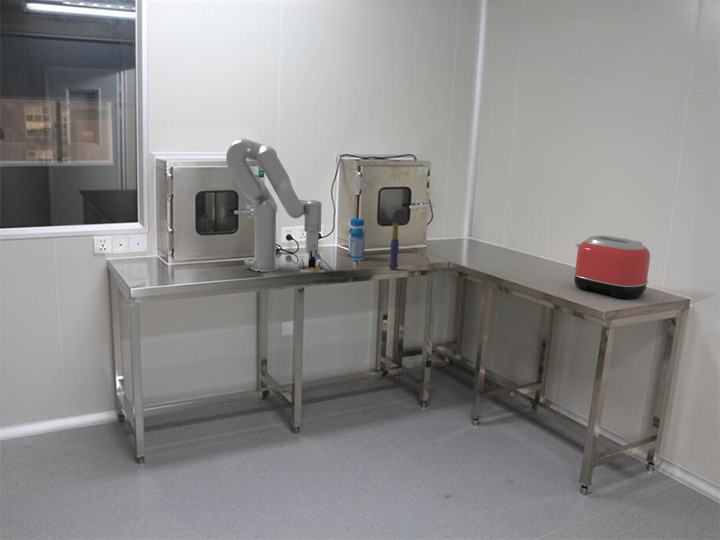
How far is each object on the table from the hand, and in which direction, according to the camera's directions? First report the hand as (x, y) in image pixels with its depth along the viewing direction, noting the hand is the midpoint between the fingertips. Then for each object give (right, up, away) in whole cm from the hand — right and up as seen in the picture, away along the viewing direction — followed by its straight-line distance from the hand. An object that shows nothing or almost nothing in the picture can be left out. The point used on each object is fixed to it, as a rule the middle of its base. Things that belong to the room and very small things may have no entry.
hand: (311, 267), depth 301 cm
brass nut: (+1, -2, -3) cm, 4 cm away
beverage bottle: (+20, +4, +30) cm, 36 cm away
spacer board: (0, -1, +1) cm, 1 cm away
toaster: (+129, -11, -16) cm, 130 cm away
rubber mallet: (+38, -1, +9) cm, 39 cm away
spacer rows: (-1, 0, +4) cm, 4 cm away
